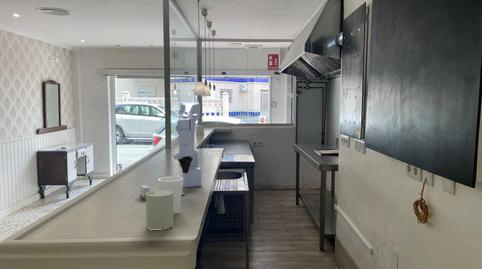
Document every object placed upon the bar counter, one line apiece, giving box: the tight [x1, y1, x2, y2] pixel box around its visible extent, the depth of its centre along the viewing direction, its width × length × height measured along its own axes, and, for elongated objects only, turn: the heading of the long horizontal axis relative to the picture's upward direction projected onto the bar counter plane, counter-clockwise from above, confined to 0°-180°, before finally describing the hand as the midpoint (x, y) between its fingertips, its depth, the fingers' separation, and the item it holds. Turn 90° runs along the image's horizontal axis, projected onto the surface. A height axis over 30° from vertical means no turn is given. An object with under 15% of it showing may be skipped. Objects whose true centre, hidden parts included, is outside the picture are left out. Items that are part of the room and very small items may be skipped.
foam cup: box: [157, 176, 184, 215], centre depth 136 cm, size 10×9×13 cm
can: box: [145, 189, 175, 229], centre depth 120 cm, size 9×9×12 cm
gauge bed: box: [139, 184, 186, 202], centre depth 162 cm, size 18×10×5 cm, turn 118°
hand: (185, 172), depth 167 cm, fingers closed
